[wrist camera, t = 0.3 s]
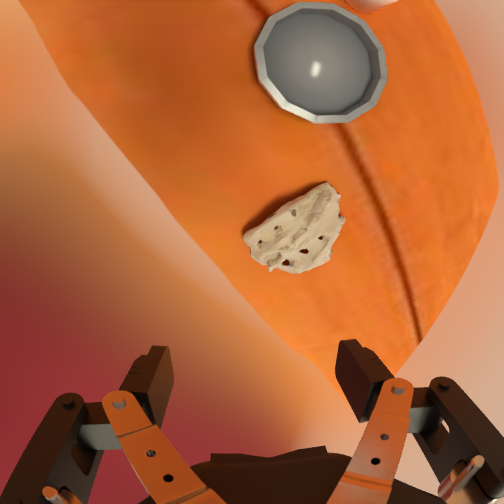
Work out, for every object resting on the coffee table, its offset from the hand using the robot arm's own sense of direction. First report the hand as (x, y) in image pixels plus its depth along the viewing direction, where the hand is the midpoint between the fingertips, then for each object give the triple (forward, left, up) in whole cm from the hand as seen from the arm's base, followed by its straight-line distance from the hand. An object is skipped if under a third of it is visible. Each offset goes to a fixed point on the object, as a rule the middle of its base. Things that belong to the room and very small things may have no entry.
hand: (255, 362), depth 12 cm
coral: (+11, +1, -31) cm, 33 cm away
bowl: (-8, +18, -30) cm, 36 cm away
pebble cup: (-14, +31, -30) cm, 46 cm away
